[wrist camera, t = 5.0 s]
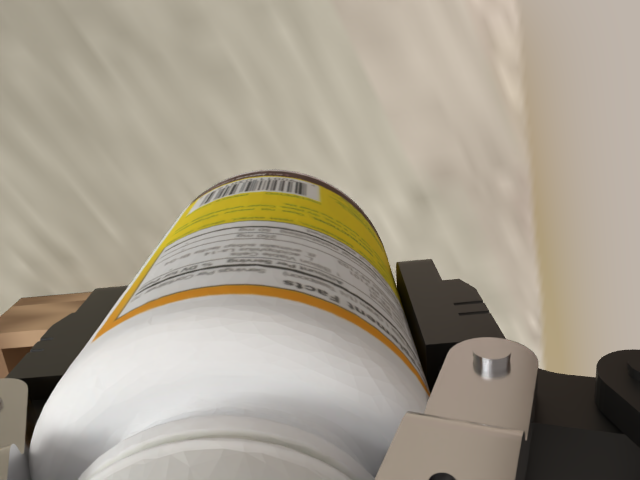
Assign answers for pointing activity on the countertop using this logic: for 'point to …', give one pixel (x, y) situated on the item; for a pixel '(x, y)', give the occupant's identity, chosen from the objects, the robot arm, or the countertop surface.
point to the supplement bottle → (243, 349)
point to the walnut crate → (31, 324)
